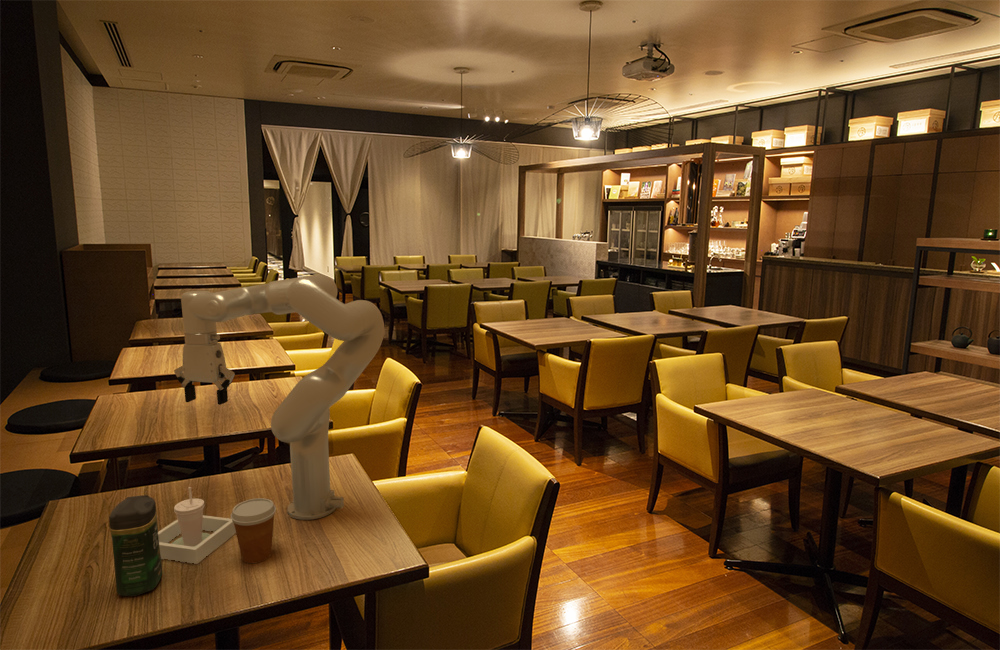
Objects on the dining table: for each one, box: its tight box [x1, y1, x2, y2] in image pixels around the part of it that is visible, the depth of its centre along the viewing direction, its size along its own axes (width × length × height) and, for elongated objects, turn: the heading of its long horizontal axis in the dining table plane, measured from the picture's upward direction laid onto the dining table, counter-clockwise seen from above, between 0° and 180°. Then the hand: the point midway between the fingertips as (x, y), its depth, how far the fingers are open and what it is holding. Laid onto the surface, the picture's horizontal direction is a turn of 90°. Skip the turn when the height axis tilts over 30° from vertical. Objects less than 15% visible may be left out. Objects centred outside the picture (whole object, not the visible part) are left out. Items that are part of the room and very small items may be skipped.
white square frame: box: [158, 514, 236, 565], centre depth 141 cm, size 14×14×4 cm
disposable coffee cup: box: [230, 497, 277, 564], centre depth 135 cm, size 10×10×12 cm
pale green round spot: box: [171, 532, 211, 547], centre depth 141 cm, size 9×9×1 cm
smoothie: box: [173, 486, 206, 546], centre depth 140 cm, size 6×6×14 cm
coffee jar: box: [108, 494, 163, 597], centre depth 124 cm, size 10×8×19 cm
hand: (206, 401), depth 157 cm, fingers open, 9 cm apart
